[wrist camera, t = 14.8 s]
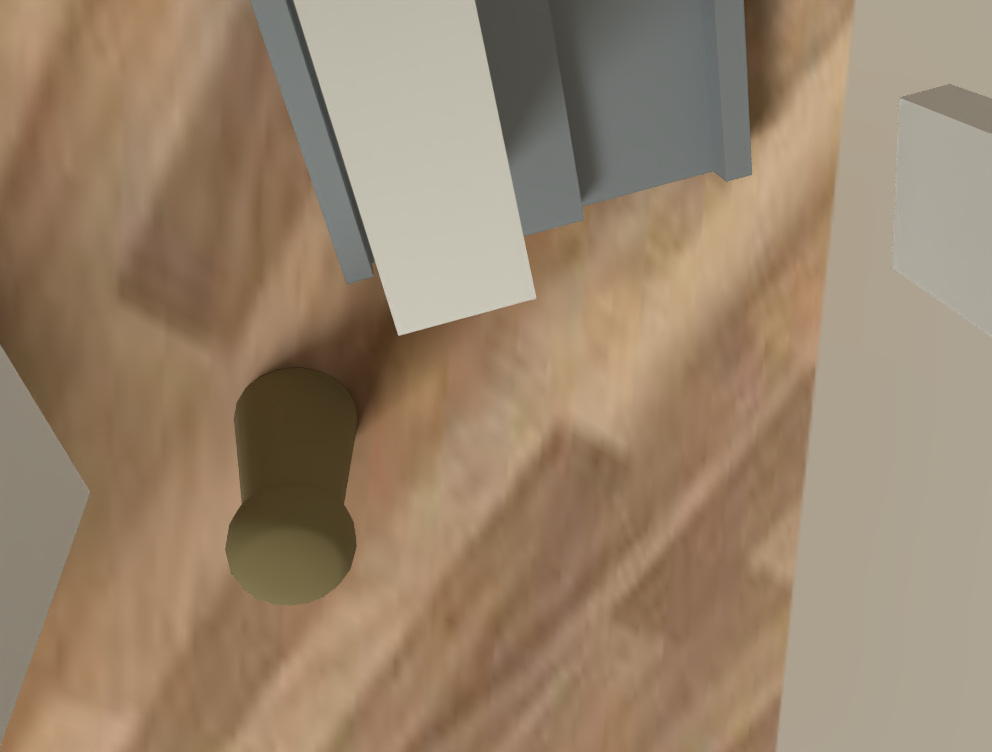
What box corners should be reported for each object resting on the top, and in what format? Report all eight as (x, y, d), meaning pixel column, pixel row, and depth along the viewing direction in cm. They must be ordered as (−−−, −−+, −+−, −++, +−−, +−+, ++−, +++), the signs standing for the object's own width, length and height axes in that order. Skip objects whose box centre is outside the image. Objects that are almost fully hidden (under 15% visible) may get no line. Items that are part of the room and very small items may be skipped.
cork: (257, 480, 44) (241, 644, 35) (215, 385, 41) (186, 537, 32) (371, 451, 45) (385, 605, 35) (338, 354, 42) (344, 496, 32)
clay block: (376, 206, 37) (398, 335, 27) (263, -170, 30) (235, -186, 19) (477, 179, 37) (536, 298, 27) (389, -201, 30) (426, -233, 20)
